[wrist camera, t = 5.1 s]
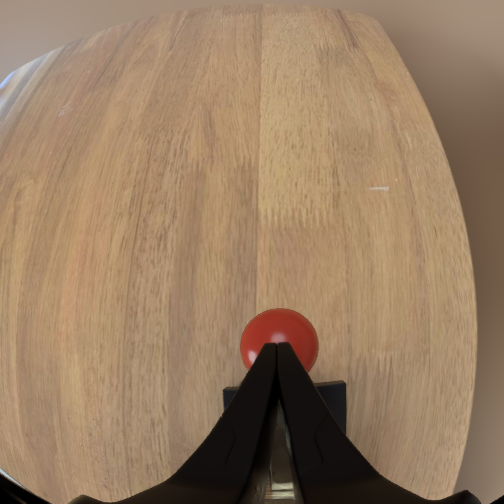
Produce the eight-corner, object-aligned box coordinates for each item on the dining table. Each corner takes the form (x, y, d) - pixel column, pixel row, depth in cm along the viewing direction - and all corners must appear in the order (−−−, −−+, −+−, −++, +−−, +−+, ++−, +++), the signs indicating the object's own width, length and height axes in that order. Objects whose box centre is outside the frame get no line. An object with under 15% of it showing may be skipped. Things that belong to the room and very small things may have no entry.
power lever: (245, 314, 13) (232, 305, 10) (312, 310, 13) (320, 299, 10) (253, 511, 10) (244, 544, 7) (315, 509, 10) (320, 542, 7)
